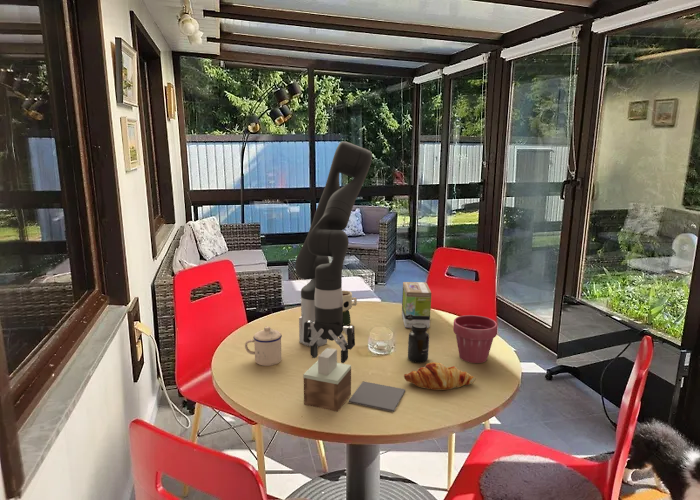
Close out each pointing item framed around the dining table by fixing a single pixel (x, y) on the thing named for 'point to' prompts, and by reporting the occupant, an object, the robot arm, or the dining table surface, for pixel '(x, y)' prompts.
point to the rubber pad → (377, 396)
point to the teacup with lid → (266, 346)
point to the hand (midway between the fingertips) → (329, 359)
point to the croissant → (439, 377)
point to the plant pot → (474, 337)
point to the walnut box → (327, 393)
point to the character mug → (347, 306)
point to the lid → (327, 368)
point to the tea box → (416, 303)
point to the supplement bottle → (418, 343)
